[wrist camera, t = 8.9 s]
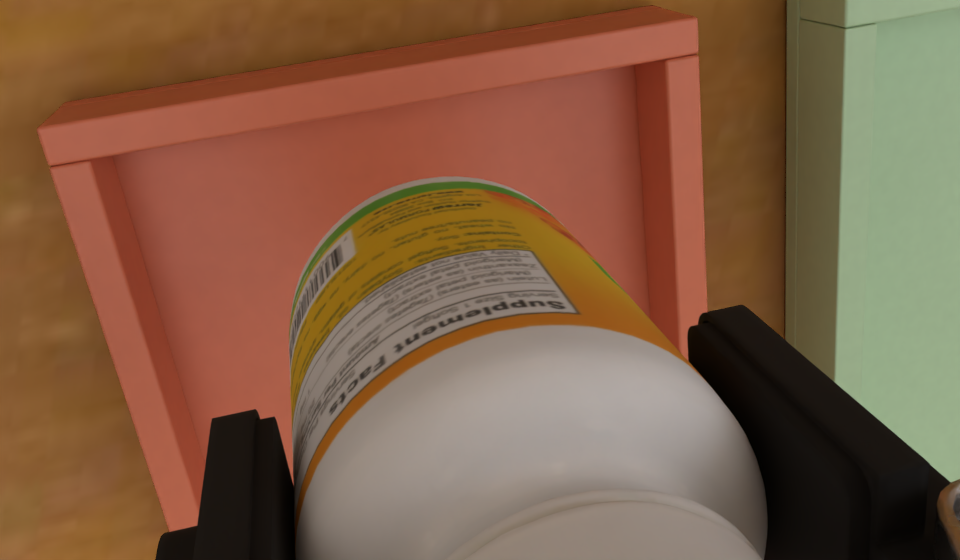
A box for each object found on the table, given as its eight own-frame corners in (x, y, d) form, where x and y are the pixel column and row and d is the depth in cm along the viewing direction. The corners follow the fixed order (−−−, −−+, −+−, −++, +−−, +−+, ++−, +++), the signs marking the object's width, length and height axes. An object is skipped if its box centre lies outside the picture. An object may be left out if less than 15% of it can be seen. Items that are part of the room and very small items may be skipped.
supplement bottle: (609, 391, 18) (937, 869, 9) (342, 480, 17) (410, 1078, 8) (552, 129, 16) (913, 418, 7) (243, 223, 15) (196, 667, 6)
